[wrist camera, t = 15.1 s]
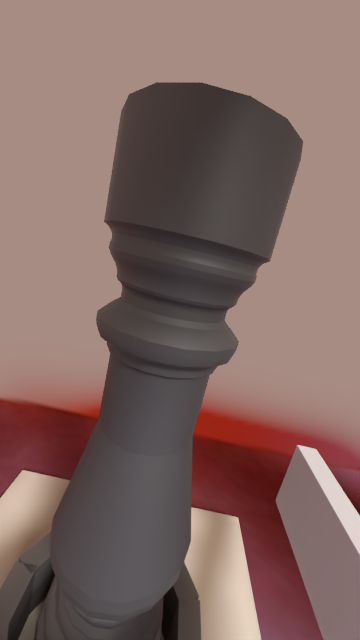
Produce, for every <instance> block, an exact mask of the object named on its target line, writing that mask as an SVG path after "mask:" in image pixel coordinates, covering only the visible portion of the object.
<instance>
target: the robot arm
mask: <svg viewBox="0 0 360 640" xmlns="http://www.w3.org/2000/svg"><path fill="white" fill-rule="evenodd" d="M275 501H276V504H277V507H278V509H279V512H280V515H281V518H282V521H283V524H284V527H285V530H286V533H287V536H288V538H289V541H290V544H291V547H292V550H293V553H294V556H295V559H296V562H297V565H298V567H299V570H300V573H301V576H302V579H303V582H304V585H305V588H306V591H307V593H308V596H309V599H310V602H311V605H312V608H313V611H314V614H315V617H316V620H317V622H318V625H319V628H320V631H321V634H322V637H323V640H360V515H359V514H358V512H357V511H356V509H355V508H354V506H353V505H352V503H351V502H350V500H349V499H348V497H347V496H346V494H345V493H344V491H343V489H342V488H341V486H340V485H339V483H338V482H337V480H336V479H335V477H334V476H333V474H332V473H331V471H330V470H329V468H328V467H327V465H326V463H325V462H324V460H323V459H322V457H321V456H320V454H319V453H318V451H317V450H316V449H313V448H309V447H304V446H300V445H297V447H296V449H295V452H294V454H293V457H292V459H291V462H290V464H289V467H288V470H287V472H286V475H285V477H284V480H283V482H282V485H281V488H280V490H279V493H278V495H277V498H276V500H275Z"/></svg>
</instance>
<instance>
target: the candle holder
mask: <svg viewBox="0 0 360 640" xmlns="http://www.w3.org/2000/svg"><path fill="white" fill-rule="evenodd" d="M302 145H303V141H302V139H301V138H300V136H299V135H298V133H297V132H296V131H295V129H294V128H293V126H292V125H291V123H290V122H289V121H288V119H287V118H285V117H283V116H282V115H280V114H279V113H277V112H275V111H274V110H272V109H271V108H269V107H267V106H266V105H264V104H262V103H261V102H259V101H257V100H256V99H254V98H252V97H251V96H247V95H244V94H240V93H237V92H233V91H229V90H226V89H222V88H219V87H215V86H211V85H208V84H204V83H155V84H152V85H150V86H148V87H145V88H143V89H140V90H138V91H136V92H133V93H131V94H129V96H128V98H127V100H126V102H125V105H124V107H123V109H122V112H121V117H120V123H119V130H118V137H117V143H116V149H115V156H114V162H113V169H112V175H111V182H110V188H109V195H108V201H107V207H106V214H105V220H104V222H105V223H107V224H108V225H109V227H110V228H111V231H112V240H111V242H110V245H109V249H110V252H111V255H112V257H113V259H114V260H115V262H116V266H117V278H118V280H119V281H120V282H121V284H122V294H121V297H120V298H118V299H116V300H114V301H112V302H110V303H109V304H107V305H106V306H104V307H103V308H101V309H100V310H98V312H97V319H96V321H97V327H98V330H99V333H100V336H101V337H102V338H103V339H104V340H106V341H107V345H108V348H109V351H110V359H109V364H108V370H107V375H106V381H105V387H104V392H103V398H102V403H101V409H100V415H99V419H98V421H97V423H96V425H95V427H94V430H93V432H92V434H91V436H90V438H89V440H88V443H87V445H86V447H85V449H84V451H83V454H82V456H81V458H80V460H79V462H78V465H77V467H76V469H75V471H74V473H73V476H72V478H71V480H70V482H69V484H68V486H67V488H66V491H65V493H64V495H63V497H62V499H61V501H60V503H59V506H58V508H57V510H56V512H55V514H54V516H53V521H52V527H51V545H50V562H51V565H52V569H53V571H54V574H55V577H54V579H53V582H52V585H51V587H50V590H49V592H48V594H47V597H46V599H45V602H44V605H43V607H42V610H41V612H40V615H39V618H38V620H37V623H36V630H35V637H34V640H161V630H162V618H163V597H164V595H165V593H166V592H167V591H168V590H169V589H170V588H171V587H172V586H173V585H174V583H175V582H176V581H177V580H178V577H179V574H180V572H181V569H182V566H183V563H184V560H185V558H186V555H187V552H188V549H189V546H190V542H191V495H192V446H193V433H194V429H195V426H196V422H197V419H198V415H199V411H200V407H201V404H202V400H203V396H204V393H205V390H206V386H207V382H208V379H209V375H210V374H212V373H213V371H214V370H215V369H216V368H217V366H219V365H223V364H226V363H228V361H229V360H230V358H231V357H232V356H233V354H234V353H235V351H236V348H237V346H238V340H237V338H236V337H235V335H234V334H233V332H232V331H231V329H230V328H229V327H228V325H227V324H226V322H225V320H224V319H225V316H226V312H227V310H228V309H229V308H232V307H233V306H234V305H236V303H237V301H238V298H239V297H240V295H241V294H242V293H243V292H244V291H246V290H247V289H248V288H250V287H251V286H252V285H253V284H254V283H255V280H256V273H257V270H258V268H259V267H260V266H261V265H262V264H264V263H266V262H269V261H270V259H271V256H272V252H273V249H274V245H275V243H276V239H277V236H278V233H279V229H280V226H281V222H282V219H283V216H284V213H285V209H286V206H287V203H288V199H289V196H290V193H291V190H292V186H293V183H294V180H295V176H296V172H297V170H298V166H299V163H300V160H301V153H302Z"/></svg>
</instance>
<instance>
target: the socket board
mask: <svg viewBox="0 0 360 640" xmlns="http://www.w3.org/2000/svg"><path fill="white" fill-rule="evenodd" d="M69 482H70V480H66V479H61V478H57V477H52V476H48V475H43V474H39V473H34V472H30V471H25V470H22V472H21V473H20V474H19V475H18V477H17V478H16V479H15V480H14V482H13V483H12V484H11V485H10V487H9V488H8V489H7V490H6V492H5V493H4V494H3V496H2V497H1V498H0V640H34V637H35V630H36V623H37V620H38V618H39V615H40V612H41V610H42V607H43V605H44V602H45V599H46V597H47V594H48V592H49V590H50V587H51V585H52V582H53V579H54V577H55V574H54V571H53V569H52V565H51V562H50V545H51V527H52V521H53V516H54V514H55V512H56V510H57V508H58V506H59V503H60V501H61V499H62V497H63V495H64V493H65V491H66V488H67V486H68V484H69ZM161 640H261V636H260V631H259V625H258V620H257V615H256V609H255V604H254V599H253V593H252V588H251V583H250V578H249V572H248V567H247V562H246V556H245V551H244V546H243V540H242V535H241V530H240V525H239V519H238V517H234V516H230V515H225V514H221V513H216V512H211V511H207V510H202V509H198V508H193V507H191V542H190V546H189V549H188V552H187V555H186V558H185V560H184V563H183V566H182V569H181V572H180V574H179V577H178V580H177V581H176V582H175V583H174V585H173V586H172V587H171V588H170V589H169V590H168V591H167V592H166V593H165V595H164V597H163V618H162V630H161Z"/></svg>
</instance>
